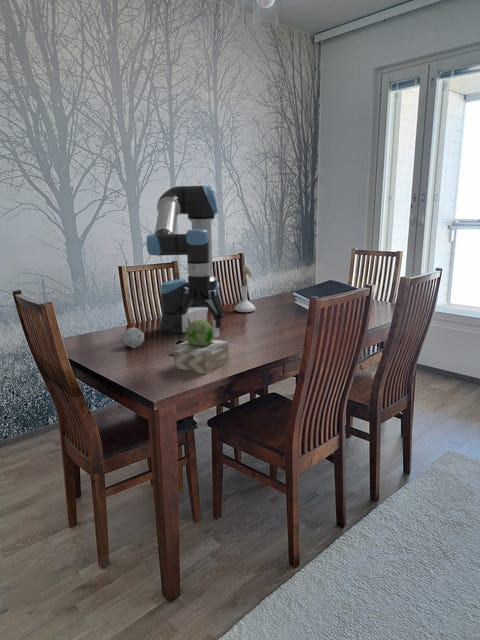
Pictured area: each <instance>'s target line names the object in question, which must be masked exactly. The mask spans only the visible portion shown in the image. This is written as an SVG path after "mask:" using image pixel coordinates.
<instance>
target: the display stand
mask: <svg viewBox="0 0 480 640" xmlns="http://www.w3.org/2000/svg"><path fill="white" fill-rule="evenodd" d="M184 341H185V342H183V343H180V344H178V345H173V348H172V349H173V353H174V356H173V367H174V368H175V369H180V370H183V371H184V370H185V371H188V370H189V372H193V371H194V372H193V373H198V372H199V373H198V374H202V373H204V374H203V375H207V373H208V374H210V373H212V372H213V370H214V371H215V369H216V370H217V369H219V368H221V367H223V366H225V365H226V363H227V364H229V341H225V340H220V339H214V338H212V341H211V342H210V343H209V344H208V345H207V346H205V347H195V346H193V345H191V344H190V343H189V342H188V341H187V340H184ZM224 364H225V365H224ZM222 365H223V366H222ZM220 366H221V367H220ZM211 371H212V372H211ZM209 372H210V373H209Z"/></svg>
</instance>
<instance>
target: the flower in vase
mask: <svg viewBox="0 0 480 640" xmlns="http://www.w3.org/2000/svg"><path fill="white" fill-rule="evenodd" d="M242 269H243V271H244V275H243V279H242V284H243V285H240V287H239V288H241V291H242V300H241V301H239V303H237V305H236V306H234V310H235V311H236V312H239V313H249V312H254V311H256V307H255V305H254V304H253V303H251V302H250V301H249V300H248V290H249V288H250V285H245V284H246V283H247V282H248V280H245V276H246V275H247V276H248V277H249V278H252V277H253V274H252V271H251V270H250V269H249V267H248V266H247V265H242Z"/></svg>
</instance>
